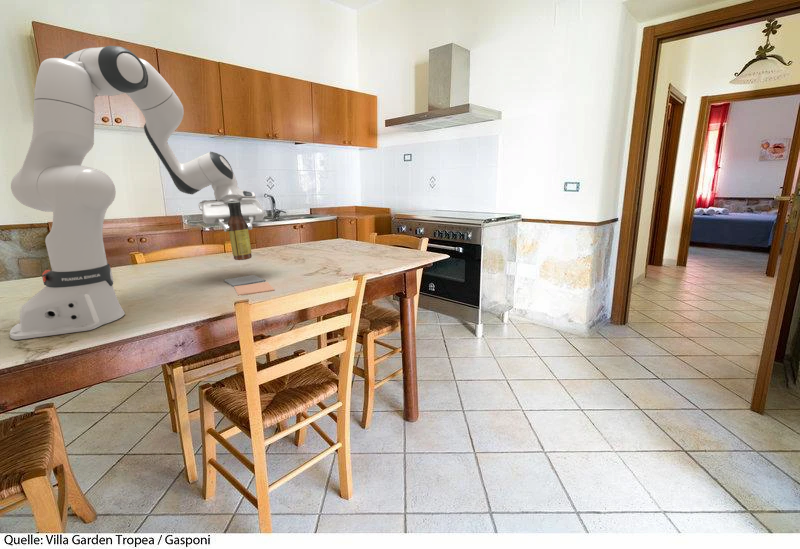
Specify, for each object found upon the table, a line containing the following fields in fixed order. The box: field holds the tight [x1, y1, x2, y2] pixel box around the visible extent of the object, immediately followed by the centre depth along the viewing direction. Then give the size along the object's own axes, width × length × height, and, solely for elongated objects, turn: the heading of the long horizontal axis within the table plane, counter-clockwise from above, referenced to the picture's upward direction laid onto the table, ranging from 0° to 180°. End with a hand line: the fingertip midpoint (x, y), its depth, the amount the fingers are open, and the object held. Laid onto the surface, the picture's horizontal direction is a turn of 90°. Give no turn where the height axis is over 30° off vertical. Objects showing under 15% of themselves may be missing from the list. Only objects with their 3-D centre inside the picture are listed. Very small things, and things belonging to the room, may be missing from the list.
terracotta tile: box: [233, 281, 275, 297], centre depth 129 cm, size 11×11×1 cm
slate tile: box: [223, 274, 266, 288], centre depth 140 cm, size 11×11×1 cm
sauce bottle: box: [227, 202, 253, 261], centre depth 135 cm, size 7×6×20 cm
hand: (238, 229), depth 135 cm, fingers closed on sauce bottle, 6 cm apart
